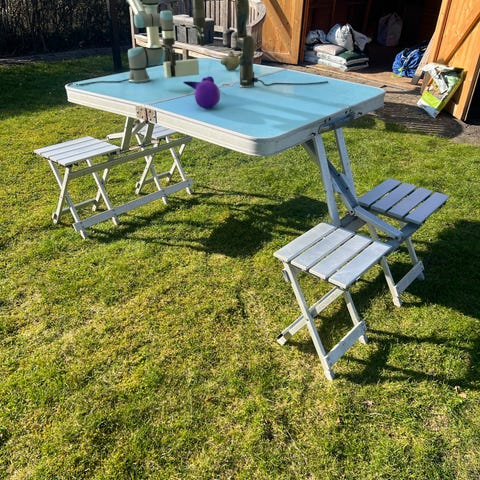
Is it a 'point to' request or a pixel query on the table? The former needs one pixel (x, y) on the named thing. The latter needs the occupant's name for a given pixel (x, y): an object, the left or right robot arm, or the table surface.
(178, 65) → the bar
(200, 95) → the toy
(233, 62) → the teapot
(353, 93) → the table surface
